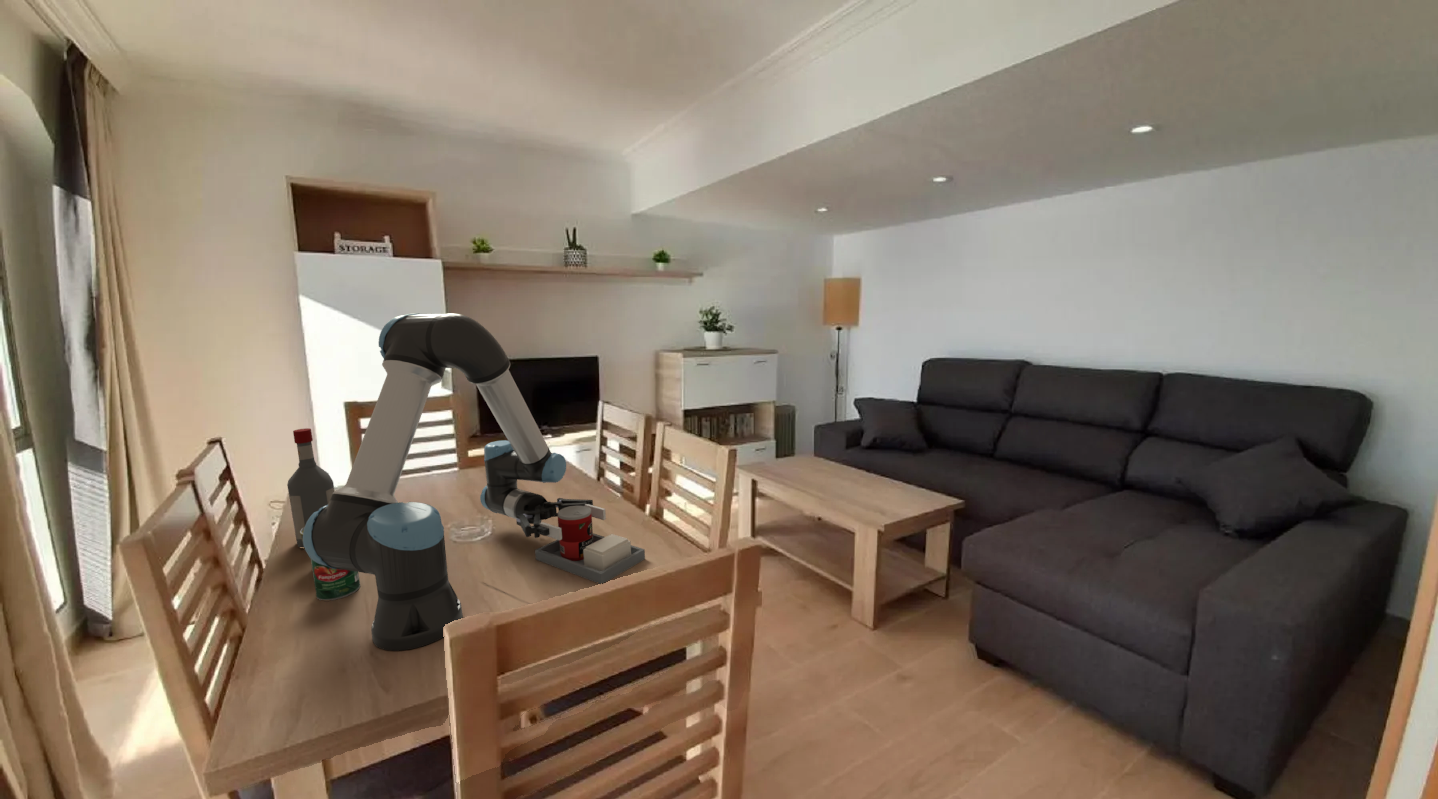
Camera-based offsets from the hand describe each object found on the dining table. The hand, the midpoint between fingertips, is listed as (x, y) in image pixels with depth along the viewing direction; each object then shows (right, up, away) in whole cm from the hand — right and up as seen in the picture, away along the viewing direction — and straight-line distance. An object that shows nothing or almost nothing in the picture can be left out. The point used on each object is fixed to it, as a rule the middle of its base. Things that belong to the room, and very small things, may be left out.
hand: (583, 524), depth 129 cm
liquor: (-73, -8, +15) cm, 75 cm away
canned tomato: (-50, -12, -11) cm, 53 cm away
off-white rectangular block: (+6, -9, -3) cm, 11 cm away
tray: (+1, -9, +1) cm, 9 cm away
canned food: (-2, -8, +3) cm, 9 cm away
